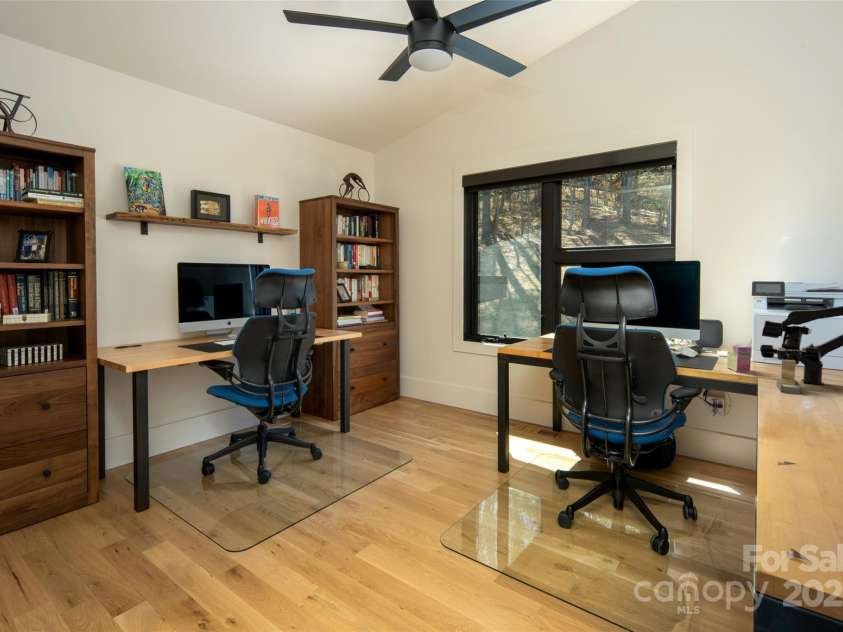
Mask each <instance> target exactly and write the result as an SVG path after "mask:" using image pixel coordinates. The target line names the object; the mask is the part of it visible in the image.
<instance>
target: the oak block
mask: <svg viewBox="0 0 843 632" xmlns="http://www.w3.org/2000/svg"><path fill="white" fill-rule="evenodd" d="M780 366H781V367H780V382H781V383H782V384H787V385H795V380H796V379H795V378H796V365H795V360H781V364H780Z"/></svg>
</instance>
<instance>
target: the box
mask: <svg viewBox="0 0 843 632" xmlns="http://www.w3.org/2000/svg"><path fill="white" fill-rule="evenodd" d="M726 352H727V355H726V368H727V367H728V368H730V369H729V370H731V369H732V370H731V371H733V370H734V372H735V371H737V372H736V373H743V372H750V373H751V365H752V363H751V361H752V346H751V347H750V346H748V345H745V344H740V343H727V351H726ZM728 368H727V369H728Z"/></svg>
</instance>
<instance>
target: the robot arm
mask: <svg viewBox="0 0 843 632" xmlns="http://www.w3.org/2000/svg"><path fill="white" fill-rule="evenodd" d="M841 316H842V317H843V305H841V306H835V307H828V308H821V309H801V310H798V309H796V310H795V309H794V310H792V311H790V312H789V313H788V316H787V318H785V319H784V320H782V321H781V322H775V321H770V320H765V322H764V325H763V328H762V333H761V337H766V338H771V339H772V338H773V339H779V338H780V337H781V338H782V343H781V347H777V348H774V345H772V344H762V345H760V348H759V350H760V354H761V357H762V358H766V359H768V358H769V359H773V358H775V355H777V359H778V360H780V361H782V360H795V366H796V365H799V364H802V365H804V367H803V377H802V379H800V381H801V382H802V383H803V384H808V385H809V384H810V385H821V386H822V385H823V386H825V383H824V382H823V367H824V364H823V361H822V360H821V359H823V357H824V356H826V355H827V354H829V353H831V352H833V351H835V350H837V349H839V348H841V347H843V333H842V334H840V335H838V336H836V337H833V338H832V339H830V340H827V341H825V342H823V343H821V344H817V345H815V344H814V343H810V344H809V345H807V346H806V347H805V346H804V347H801V343H802V337H803V335H805V336H807V335H809V333H810V329H809V328H808V327H806V326H805V325H803V324H806V323H809V322H812V321H816V320H821V319H822V320H823V319H827V318H828V319H829V318H836V317H841ZM800 325H803V326H800ZM783 333H784V334H783Z"/></svg>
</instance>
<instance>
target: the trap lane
mask: <svg viewBox="0 0 843 632" xmlns="http://www.w3.org/2000/svg"><path fill="white" fill-rule="evenodd" d="M776 387H777V388H778V390H779V392H780V393H783V394H784V393H785V394H795V395H802V389H803V387H802V385H801V384H800V383H799V381H797V380H796V379H795V385H787V384H782V383H781V379H779V378H776Z"/></svg>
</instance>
